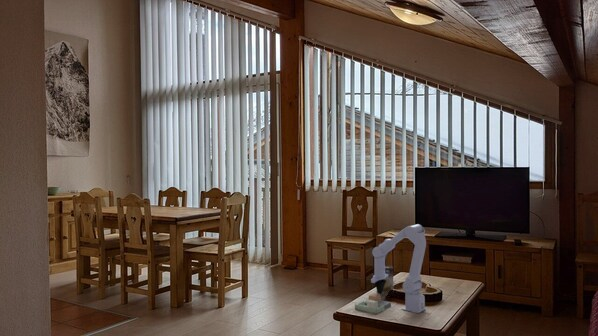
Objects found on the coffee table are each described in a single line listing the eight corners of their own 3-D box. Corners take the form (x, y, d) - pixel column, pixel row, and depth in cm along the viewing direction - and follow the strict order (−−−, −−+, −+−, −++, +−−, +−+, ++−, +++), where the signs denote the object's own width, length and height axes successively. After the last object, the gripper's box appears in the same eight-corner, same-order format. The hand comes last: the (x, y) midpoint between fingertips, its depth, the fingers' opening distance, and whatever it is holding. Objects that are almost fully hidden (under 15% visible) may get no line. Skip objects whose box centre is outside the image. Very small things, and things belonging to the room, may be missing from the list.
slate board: (390, 306, 267) (390, 302, 267) (382, 310, 261) (382, 306, 261) (372, 302, 274) (372, 298, 274) (364, 305, 268) (364, 302, 268)
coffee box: (377, 296, 285) (376, 268, 285) (376, 292, 292) (376, 265, 291) (393, 296, 284) (393, 268, 284) (392, 293, 291) (392, 265, 290)
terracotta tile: (380, 300, 271) (380, 294, 271) (375, 302, 267) (375, 296, 267) (373, 298, 274) (373, 293, 273) (368, 300, 270) (368, 295, 270)
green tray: (384, 310, 260) (384, 305, 260) (376, 314, 255) (376, 309, 255) (363, 305, 269) (363, 300, 269) (355, 309, 263) (354, 304, 263)
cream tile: (377, 301, 259) (374, 302, 257) (377, 310, 259) (374, 311, 257) (370, 299, 262) (367, 301, 260) (370, 308, 262) (367, 309, 260)
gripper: (380, 265, 282) (380, 289, 283) (366, 270, 271) (366, 295, 272) (391, 266, 277) (391, 291, 278) (377, 272, 266) (377, 297, 267)
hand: (379, 293), depth 275 cm, fingers closed
